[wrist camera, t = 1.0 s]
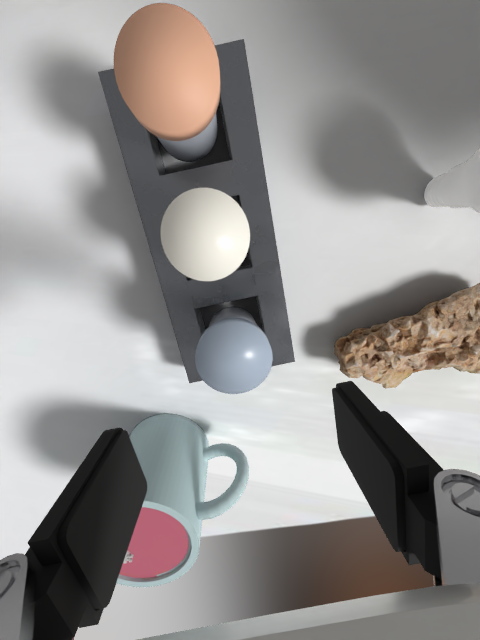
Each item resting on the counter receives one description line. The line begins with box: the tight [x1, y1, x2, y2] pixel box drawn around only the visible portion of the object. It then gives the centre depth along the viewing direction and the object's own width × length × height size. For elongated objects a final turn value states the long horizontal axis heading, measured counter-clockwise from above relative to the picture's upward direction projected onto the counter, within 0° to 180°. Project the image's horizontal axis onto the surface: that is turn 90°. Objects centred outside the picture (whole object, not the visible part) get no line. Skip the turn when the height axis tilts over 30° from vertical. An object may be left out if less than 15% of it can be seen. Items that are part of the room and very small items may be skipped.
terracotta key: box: [114, 3, 220, 162], centre depth 16 cm, size 5×5×6 cm
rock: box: [334, 283, 480, 388], centre depth 25 cm, size 17×5×10 cm
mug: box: [116, 414, 249, 587], centre depth 24 cm, size 14×9×10 cm
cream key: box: [161, 188, 250, 281], centre depth 18 cm, size 5×5×6 cm
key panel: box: [98, 39, 295, 383], centre depth 22 cm, size 10×24×3 cm, turn 12°
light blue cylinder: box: [195, 307, 273, 394], centre depth 20 cm, size 5×5×6 cm
